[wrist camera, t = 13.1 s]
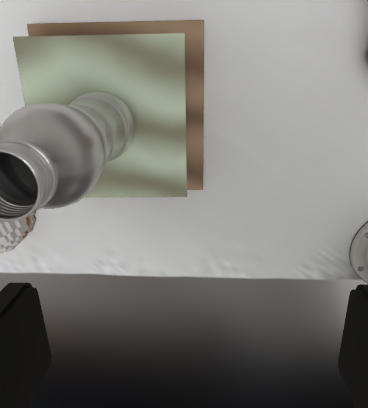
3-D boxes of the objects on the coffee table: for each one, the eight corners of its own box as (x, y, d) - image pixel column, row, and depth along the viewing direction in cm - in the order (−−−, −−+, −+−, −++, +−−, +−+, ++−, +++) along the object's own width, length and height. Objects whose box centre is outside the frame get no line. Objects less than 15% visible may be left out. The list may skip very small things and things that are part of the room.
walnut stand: (202, 184, 47) (205, 213, 38) (60, 186, 47) (27, 214, 38) (203, 22, 39) (206, 7, 30) (34, 25, 40) (-14, 12, 31)
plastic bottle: (59, 118, 34) (-101, 176, 16) (109, 74, 32) (-5, 80, 14) (103, 167, 36) (6, 272, 17) (152, 128, 34) (102, 197, 16)
